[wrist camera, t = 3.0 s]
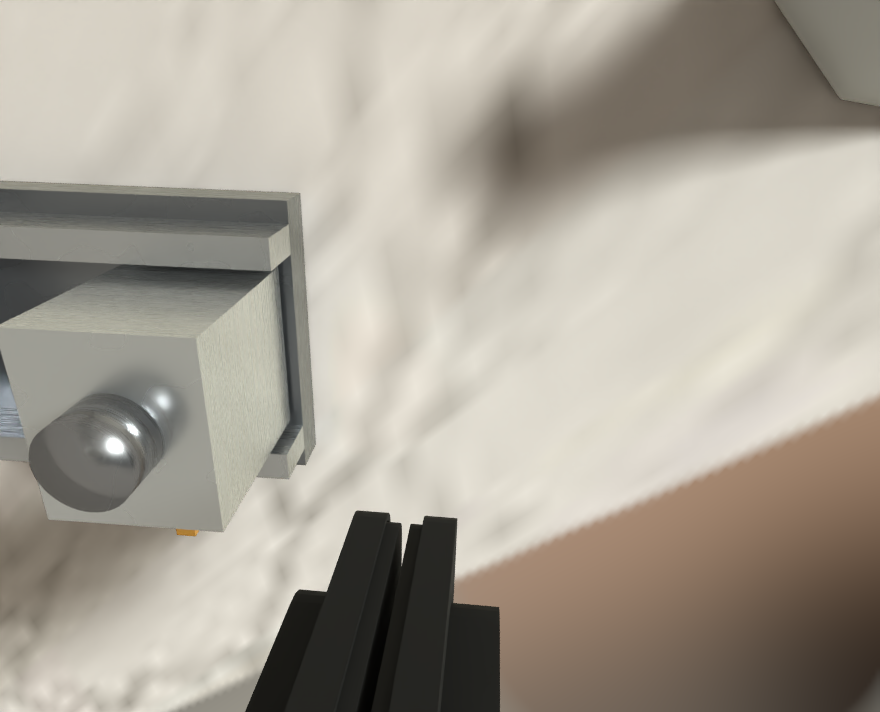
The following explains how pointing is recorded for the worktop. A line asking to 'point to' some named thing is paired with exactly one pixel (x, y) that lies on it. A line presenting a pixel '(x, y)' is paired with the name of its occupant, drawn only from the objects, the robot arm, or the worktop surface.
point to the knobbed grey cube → (151, 394)
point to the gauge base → (157, 244)
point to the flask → (841, 43)
